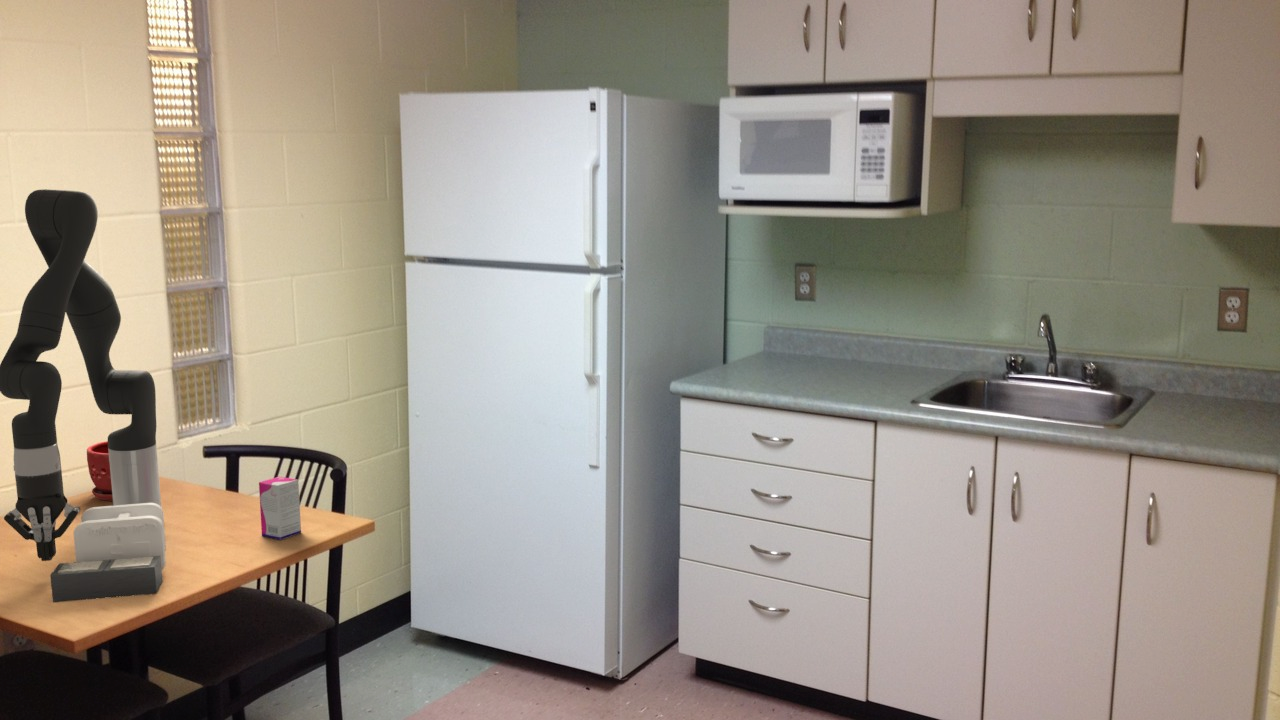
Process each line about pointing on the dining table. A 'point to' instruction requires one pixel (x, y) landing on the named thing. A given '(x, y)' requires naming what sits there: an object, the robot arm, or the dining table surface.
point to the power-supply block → (106, 578)
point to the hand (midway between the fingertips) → (47, 559)
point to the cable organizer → (120, 533)
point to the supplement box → (280, 508)
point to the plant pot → (100, 470)
